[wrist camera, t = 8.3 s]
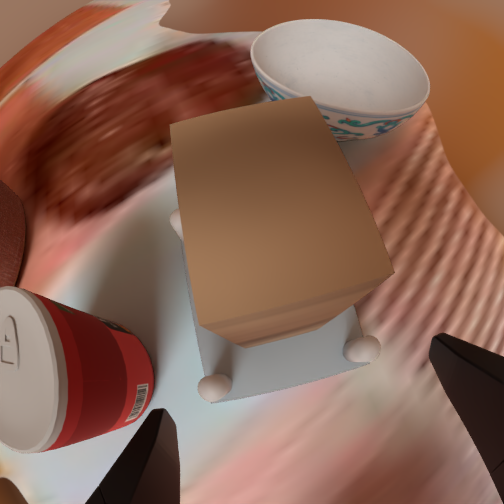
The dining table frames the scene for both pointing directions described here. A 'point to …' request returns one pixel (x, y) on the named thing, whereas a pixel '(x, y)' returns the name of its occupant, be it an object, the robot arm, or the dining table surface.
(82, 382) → the canned food
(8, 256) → the planter
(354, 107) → the chinaware
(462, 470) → the dining table surface
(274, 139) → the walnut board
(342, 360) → the peg seat
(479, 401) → the robot arm
